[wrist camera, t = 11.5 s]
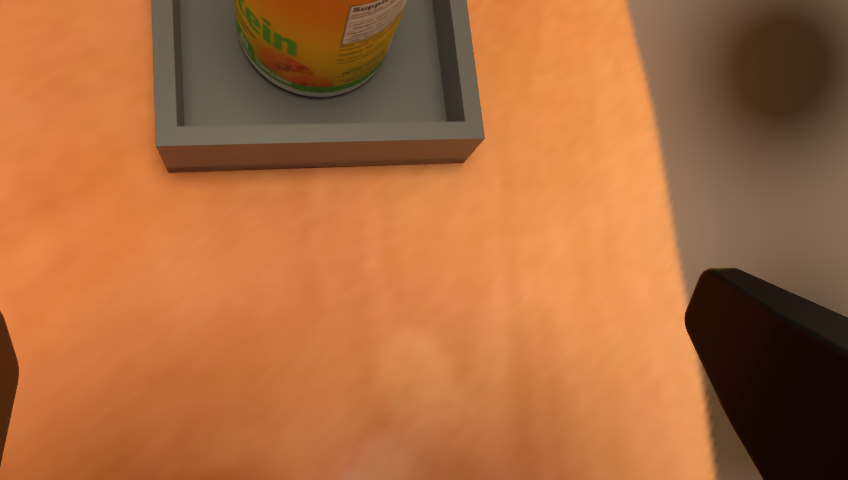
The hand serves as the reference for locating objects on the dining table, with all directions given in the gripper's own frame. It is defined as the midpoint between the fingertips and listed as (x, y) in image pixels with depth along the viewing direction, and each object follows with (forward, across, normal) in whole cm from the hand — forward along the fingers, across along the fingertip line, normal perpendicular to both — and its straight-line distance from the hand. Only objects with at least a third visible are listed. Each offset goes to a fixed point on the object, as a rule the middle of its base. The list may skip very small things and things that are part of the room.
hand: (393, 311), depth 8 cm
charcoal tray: (+18, 0, +1) cm, 18 cm away
